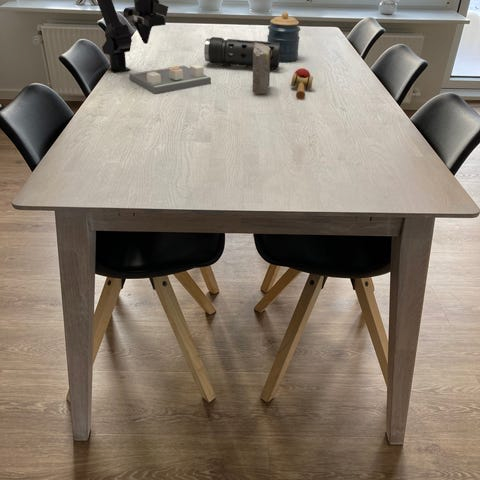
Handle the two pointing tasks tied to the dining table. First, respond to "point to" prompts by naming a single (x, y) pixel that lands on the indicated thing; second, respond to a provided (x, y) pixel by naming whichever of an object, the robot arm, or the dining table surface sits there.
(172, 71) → the switch
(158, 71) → the switch panel
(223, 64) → the muzzle brake
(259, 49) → the geological specimen
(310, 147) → the dining table surface
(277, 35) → the canister
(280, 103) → the dining table surface
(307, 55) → the dining table surface
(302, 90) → the kendama
